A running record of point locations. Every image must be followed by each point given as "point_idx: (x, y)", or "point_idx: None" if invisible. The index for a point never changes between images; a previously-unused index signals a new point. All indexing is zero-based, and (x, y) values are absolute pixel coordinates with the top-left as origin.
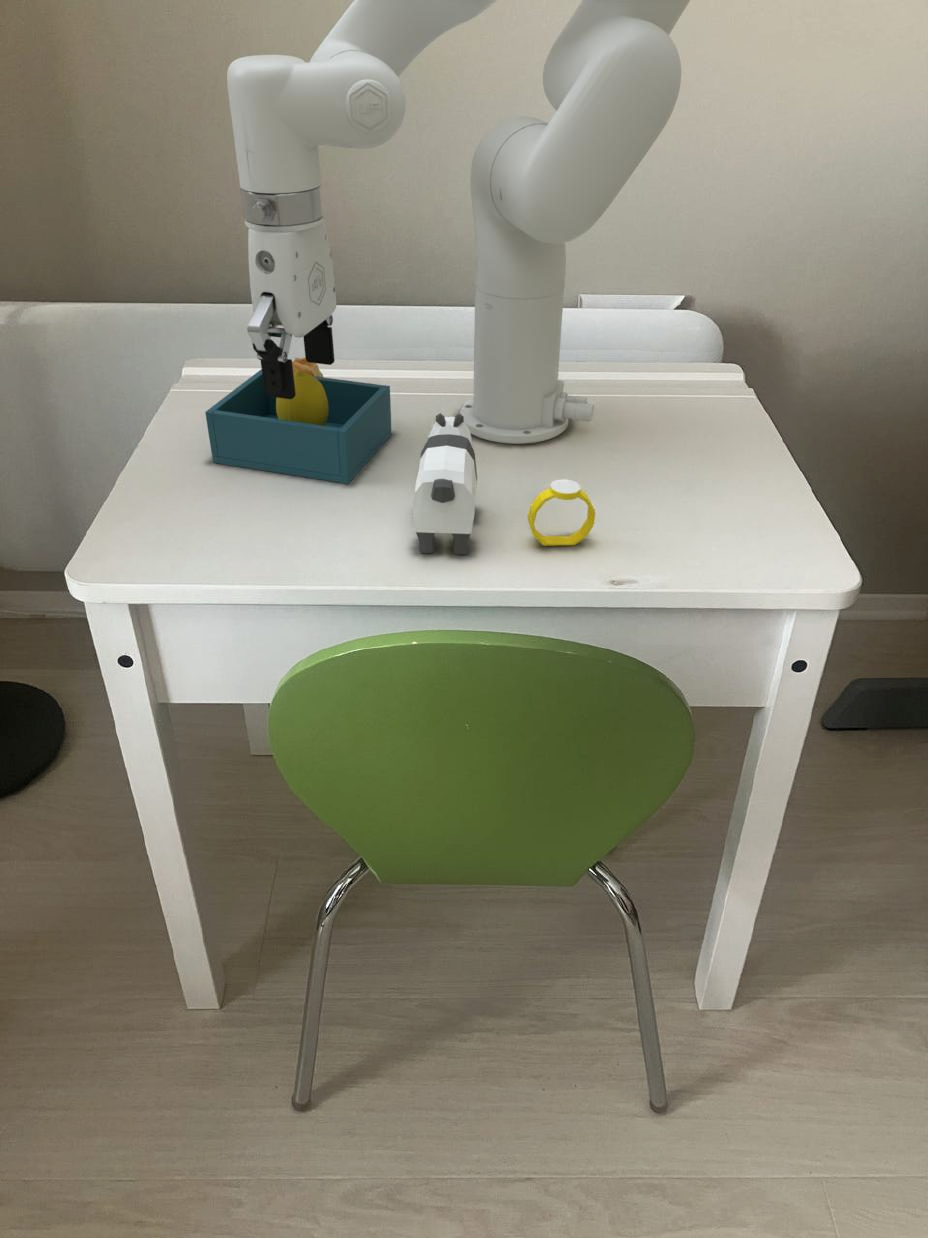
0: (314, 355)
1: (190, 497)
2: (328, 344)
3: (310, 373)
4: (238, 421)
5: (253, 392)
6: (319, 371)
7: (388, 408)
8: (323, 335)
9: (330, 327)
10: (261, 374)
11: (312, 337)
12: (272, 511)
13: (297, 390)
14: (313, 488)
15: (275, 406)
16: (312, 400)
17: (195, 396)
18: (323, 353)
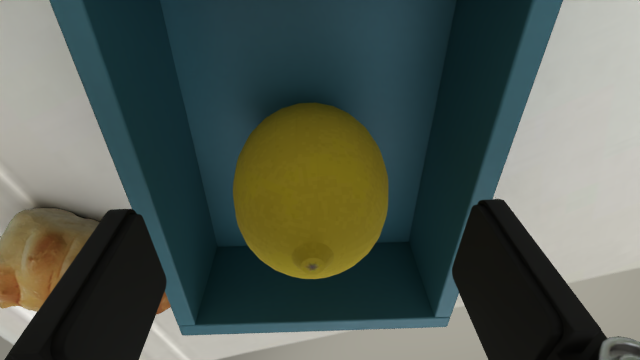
0: (150, 280)
1: (545, 217)
2: (101, 280)
3: (41, 255)
4: None
5: (262, 300)
6: (4, 246)
7: None
8: (88, 334)
9: (17, 355)
10: (209, 324)
11: (118, 352)
12: (620, 63)
13: (374, 218)
14: None
15: (211, 247)
16: (359, 159)
17: (198, 346)
18: (131, 263)
